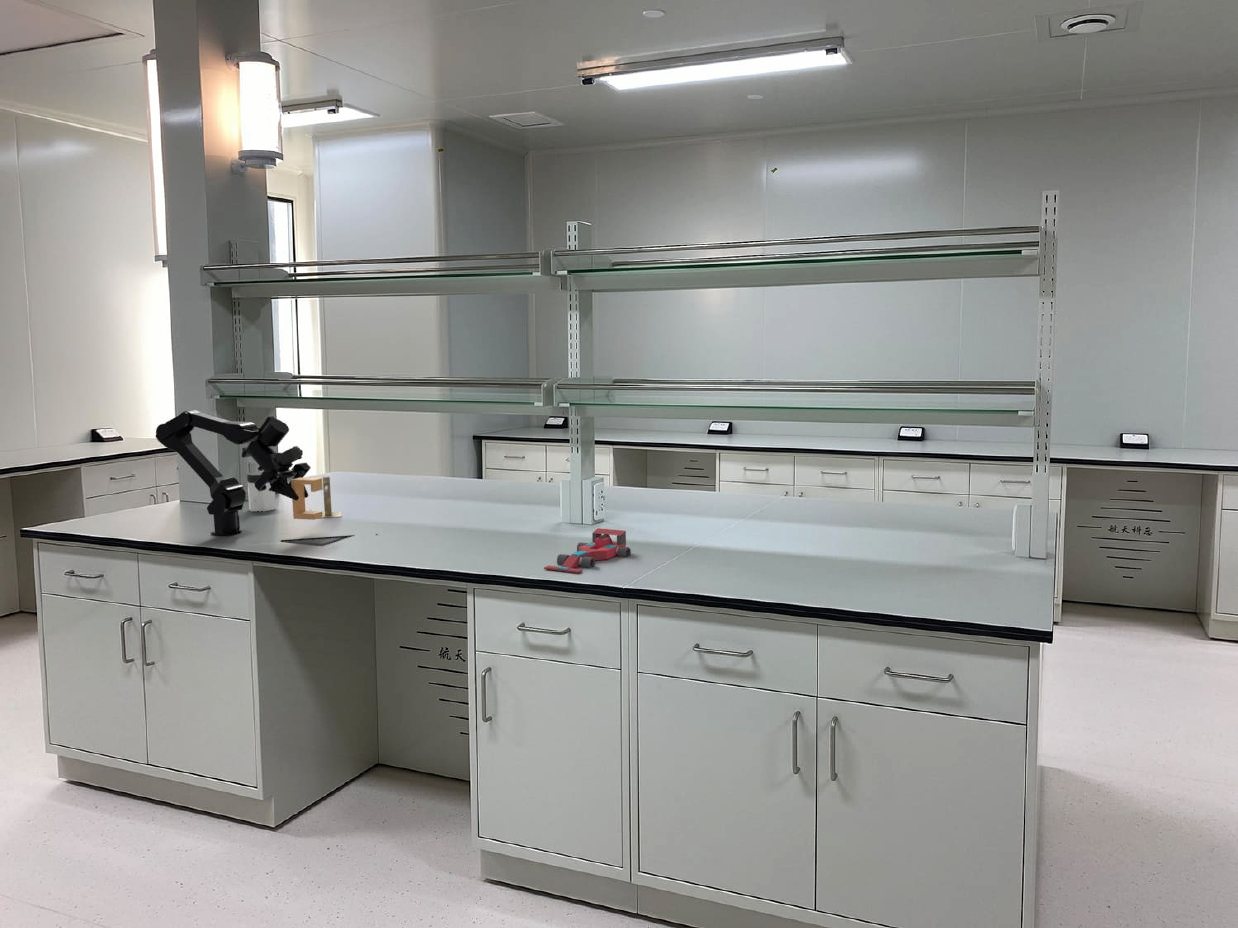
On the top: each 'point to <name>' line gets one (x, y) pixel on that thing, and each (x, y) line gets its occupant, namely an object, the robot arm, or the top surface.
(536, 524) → the top surface
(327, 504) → the hook stand
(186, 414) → the robot arm
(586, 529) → the top surface
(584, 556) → the race car
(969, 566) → the top surface
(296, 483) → the c hook
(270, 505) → the jar
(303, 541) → the rubber mat
